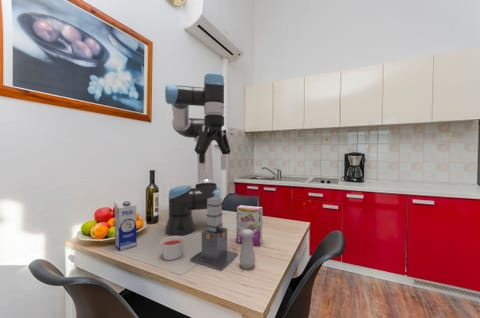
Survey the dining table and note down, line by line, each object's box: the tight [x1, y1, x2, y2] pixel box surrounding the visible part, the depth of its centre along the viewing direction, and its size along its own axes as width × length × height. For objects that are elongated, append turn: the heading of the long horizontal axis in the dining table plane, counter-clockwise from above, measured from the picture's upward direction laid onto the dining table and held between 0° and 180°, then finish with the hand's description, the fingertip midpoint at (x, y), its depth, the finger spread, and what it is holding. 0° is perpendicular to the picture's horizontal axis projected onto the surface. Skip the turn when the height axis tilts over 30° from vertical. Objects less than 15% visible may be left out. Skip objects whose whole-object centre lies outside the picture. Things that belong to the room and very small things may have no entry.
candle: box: [159, 235, 185, 261], centre depth 80 cm, size 9×9×6 cm
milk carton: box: [114, 198, 138, 252], centre depth 89 cm, size 7×7×20 cm
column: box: [206, 197, 223, 234], centre depth 78 cm, size 4×4×22 cm
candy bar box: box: [236, 204, 263, 247], centre depth 92 cm, size 11×5×16 cm, turn 71°
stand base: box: [189, 226, 239, 272], centre depth 78 cm, size 14×12×12 cm
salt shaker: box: [239, 229, 256, 270], centre depth 73 cm, size 6×6×13 cm
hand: (214, 171), depth 78 cm, fingers open, 13 cm apart
